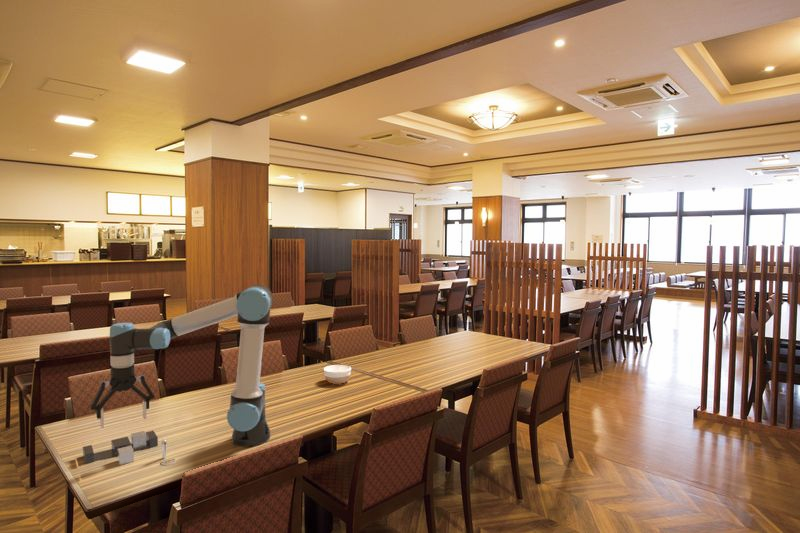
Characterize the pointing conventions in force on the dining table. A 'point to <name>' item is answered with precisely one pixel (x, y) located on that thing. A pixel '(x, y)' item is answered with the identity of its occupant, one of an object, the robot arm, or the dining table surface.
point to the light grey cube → (138, 440)
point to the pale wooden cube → (125, 455)
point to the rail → (116, 444)
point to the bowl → (337, 373)
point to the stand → (165, 454)
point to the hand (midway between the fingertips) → (123, 422)
